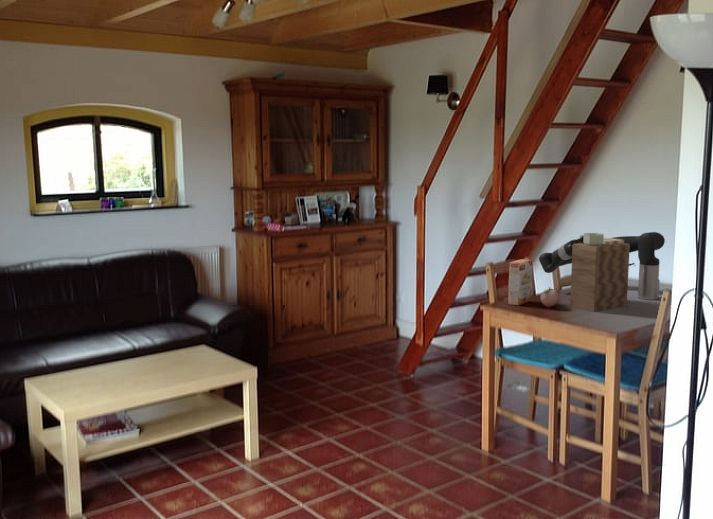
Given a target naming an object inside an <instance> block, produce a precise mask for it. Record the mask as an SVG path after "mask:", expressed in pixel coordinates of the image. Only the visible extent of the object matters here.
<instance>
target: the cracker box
mask: <svg viewBox="0 0 713 519" xmlns="http://www.w3.org/2000/svg"><path fill="white" fill-rule="evenodd" d="M532 265H533V260H532V259H524V258H521V259H518V260H514V261H511V262H509V267H508V269H509V270H508V271H509V272H508V274H509V275H508V294H507V296H508V297H507V298H508V299H507V305H510V306H516V305H517V306H521V305H524V304H527V303H529V302H531V291H532V289H531V288H532V271H533V270H532ZM517 306H516V307H517Z"/></svg>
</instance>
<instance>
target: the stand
mask: <svg viewBox="0 0 713 519" xmlns="http://www.w3.org/2000/svg"><path fill="white" fill-rule="evenodd" d="M629 250H630V244H627V243H621V244H612V245H607V244H602V245H601V246H588V245H584V243H579V244H573V246H572V263H571V273H570V274H571V277H570V302H569V303H570V304H569V306H571V308H574V307H575V309H579V310H584V311H589V312H591V313H592V312H593V313H594V312H600V311H606V310H607V311H608V310H612V309H618V308H625V307H627V306H628V289H629V287H628V286H629V270H630V269H629V268H630V266H629V264H630V253H629Z"/></svg>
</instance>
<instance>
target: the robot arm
mask: <svg viewBox="0 0 713 519" xmlns="http://www.w3.org/2000/svg"><path fill="white" fill-rule="evenodd" d="M583 237H584V236H583ZM583 237H581V238H580V237H579V238H576V239H572V240H569V241H567V242H565V243H564V244H562V245H561V246H560V247H558V248H557V249H555V250H554V251H553V252H542V254H540V255H539V257H538V261H539V263H540V265H541V268H542V269H543V272H545V273H547V274H551V273H553V272H554V271H556V270H557V269H558V268H559V267H563V266H565V265H570V264H571V265H572V246H573V244H579V243H584V242H583ZM612 238H613V239H621V240H624V243H627V244H630V250H629V254H630V253H634V252H635V253H636V252H637V255H638V256H637V257H638V260H639V264H638V265H639V267H638V268H639V270H638V283H637V284H638V289H637V298H638V299H641V300H646V299H647V301H649V300H650V301H652V300H653V301H654V300H658V299H659V297H660V296H659V295H660V262H661V261H660V259H659V258H658V257H656V253H655V251H658V250H660V249H662V248H663V246H664V245H665V241H666V238H665V237H664V235H663V234H661V233H660V232H656V231H651V232H644V233H641V235H625V236H624V235H623V236H615V237H612Z"/></svg>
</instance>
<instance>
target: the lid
mask: <svg viewBox="0 0 713 519" xmlns="http://www.w3.org/2000/svg"><path fill="white" fill-rule="evenodd" d="M583 236H584V234H582V235H579V238H581V237H583ZM613 238H614V237H604V239H603V243H602V244H607V245H612V244H621V243H624V240H621V239H613Z"/></svg>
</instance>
